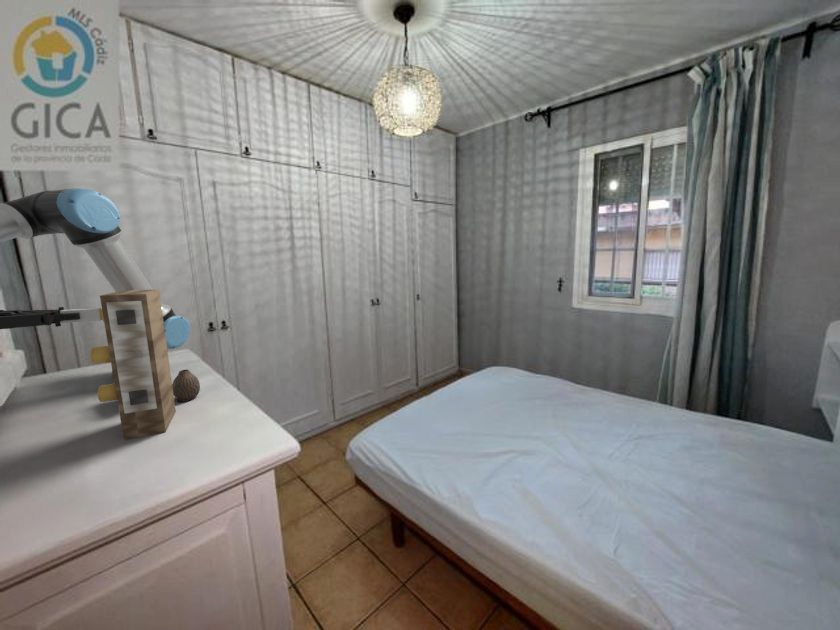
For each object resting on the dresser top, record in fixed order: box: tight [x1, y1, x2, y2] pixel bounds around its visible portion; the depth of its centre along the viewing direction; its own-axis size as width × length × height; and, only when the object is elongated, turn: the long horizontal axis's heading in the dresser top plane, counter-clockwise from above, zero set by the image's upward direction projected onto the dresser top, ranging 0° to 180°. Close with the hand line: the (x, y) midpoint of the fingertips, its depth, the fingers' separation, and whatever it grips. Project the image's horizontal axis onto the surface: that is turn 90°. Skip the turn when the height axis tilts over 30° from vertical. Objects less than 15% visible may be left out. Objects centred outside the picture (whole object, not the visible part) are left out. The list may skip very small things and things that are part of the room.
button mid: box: [90, 345, 111, 365], centre depth 79 cm, size 4×4×4 cm
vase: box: [172, 369, 201, 402], centre depth 100 cm, size 7×7×9 cm
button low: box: [97, 383, 117, 403], centre depth 80 cm, size 4×4×4 cm
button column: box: [99, 288, 177, 441], centre depth 82 cm, size 8×13×34 cm, turn 26°
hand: (100, 314), depth 77 cm, fingers closed
